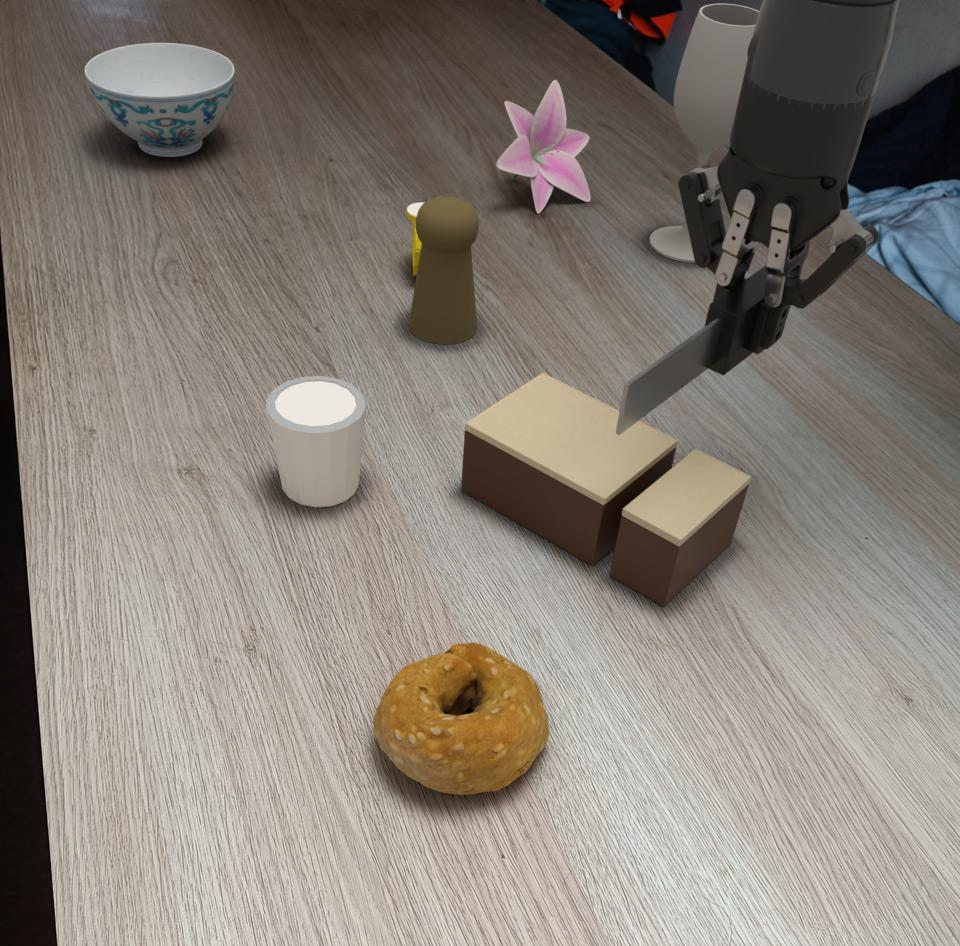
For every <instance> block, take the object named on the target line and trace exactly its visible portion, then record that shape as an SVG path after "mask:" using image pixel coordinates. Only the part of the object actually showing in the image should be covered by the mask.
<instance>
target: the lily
mask: <svg viewBox="0 0 960 946" xmlns="http://www.w3.org/2000/svg"><path fill="white" fill-rule="evenodd" d="M563 95H564V94H563V91H562V88H561V85H560V82H558V80H557V79H554V80H552V81H551V83H550V84H549V86H548V88H547V89H546V91H545V94H544V96H543V98H542V99H541V101H540V103H539V105H538V107H537V109H536V111H535V112H534V115H533V114H532V113H531V112H530V111H528V110H527V109H525V108H524V107H522V106H520V105H519V104H516V103H515V102H512V101H509V100H505V101H504V106H505V109H506V112H507V115H508V117H509V119H510V122H511V124H512V126H513V129H514V131H515V133H516V136H517V137H516V138H515V139H514V141H512V143H511V144H510V145H509V146H508V147H507V148H506V149H505V151H503V153H501V155H500V157H498V160H497V161H496V166H495V167H497V169H498V170H501V171H503V172H506V173H510V174H514V176H512V178H511V180H512V181H513V182H515V180H516V179H517V177H518V176H524V177H528V178H529V179H530V186H531V192H532V198H533V202H534V203H533V204H534V208H535V212H536V213H537V214H540V213H541V212H542V211H543V210H544V209H545V207H546V205H547V204H548V202H549V200H550V197H551V195H552V193H553V190H554V187H556V188H558V189H560V190H562V191H564V192H565V193H568V194H570V195H571V196H573V197H575V198H577V199H579V200H581V201H583V202H585V203H589V202H591V199H592V196H591V193H590V187H589V185H588V181H587V178H586V176H585V174H584V171H583V168H582V167H581V165H580V163H579V162H578V160H577V159H576V156H578V155H579V154H580V153H581V152H582V150H584V149H585V147H586V146H587V144H588V143H589V141H590V135H589V134H588V133H586V132H583V131H580V130H577V129H573V128H567V122H568V121H567V111H566V104H565V98H564V96H563Z"/></svg>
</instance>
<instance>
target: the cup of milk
mask: <svg viewBox="0 0 960 946" xmlns="http://www.w3.org/2000/svg"><path fill="white" fill-rule="evenodd" d="M265 406H266V414H267V415H266V416H267V420H268V425H269V429H270V430H269V431H270V434H271V440H272V445H273V450H274V455H275V458H276V464H277V469H278V474H279V478H280V484H281V488H282V491H283V493H284V494H285V495H286V496H287V497H288V499H290V500H291V501H293V502H295V503H297V504H299V505H301V506H307V507H310V508H311V507H312V508H328V507H333V506H336V505H339V504H342V503H345V502H346V501H348V500H349V499H350V498H352V497H353V496H354V495H355V494H356V492H357V489H358V488H359V485H360V476H361V465H362V452H363V444H364V443H363V442H364V433H365V432H364V431H365V430H364V429H365V422H366V410H367V405H366V400H365V395H364V394H363V393H362V392H361V391H360V390H359V389H358V388H357V387H356V386H355V385H353V384H351V383H349V382H347V381H345V380H342V379H340V378H337V377H336V378H335V377H330V376H323V375H314V376H313V375H312V376H300V377H297V378H293V379H291V380H288V381H287V380H286V381H284V382H282V384H280V385H278V386H276V387H275V388H273V389H272V390H271V392H270V393H269V395H268V397H267V398H266V400H265Z"/></svg>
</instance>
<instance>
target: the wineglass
mask: <svg viewBox="0 0 960 946" xmlns="http://www.w3.org/2000/svg"><path fill="white" fill-rule="evenodd" d="M759 11H760V10H757V9H754V8H753V7H748V6H745V5H740V4H733V3H711V4H706V5H703V6H701V7H700V8H699V10H698V13H697V14H696V17H695V20H694V23H693V25H692V28H691V31H690V33H689V36H688V40H687V42H686V46H685V48H684V52H683V56H682V58H681V62H680V66H679V69H678V73H677V76H676V79H675V86H674V90H673V91H674V92H673V108H674V115H675V120H676V121H677V123H678V125H679V127H680V129H681V132H682V133H683V134H684V135H685V137H686V138H687V139H688V141H689V142H690V143H691V144H692V145H693V147H694V148H695V149H696V151H697V155H698V156H697V167H696V168H698V167H700V166H702V165H707V163H708V160H709V159H710V156H711V155H712V154H713V153H714V152H715V151H717V150H718V149H720V148H722V147H724V146H726V145H727V144H728V143H730V136H731V131H732V127H733V122H734V118H735V113H736V109H737V104H738V100H739V96H740V91H741V87H742V82H743V78H744V73H745V69H746V65H747V60H748V56H747V53H748V48H749V44H750V41H751V39H752V37H753V34H754V29H755V25H756V21H757V17H758V14H759ZM648 241H649V245H650V247H651V248H652V250H654V251H655V252H656V253H657V254H658V255H661V256H663V257H664V258H667V259H670V260H674V261H677V262H683V263H695V260H694V255H693V250H692V246H691V241H690V236H689V232H688V227H687V223H686V221H685V223H684V225H671V226H670V225H669V226H668V225H667V226H663V227H659V228H658V229H656V230H654V231H653V232H652V233H651V234H650V236H649V240H648Z"/></svg>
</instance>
